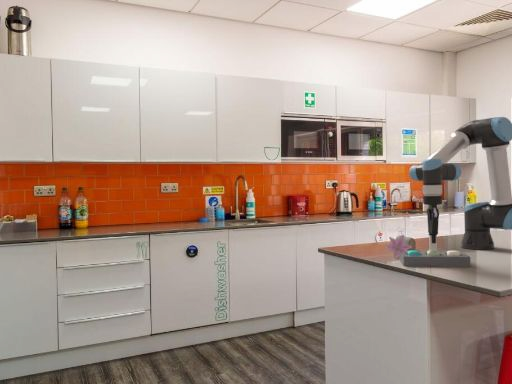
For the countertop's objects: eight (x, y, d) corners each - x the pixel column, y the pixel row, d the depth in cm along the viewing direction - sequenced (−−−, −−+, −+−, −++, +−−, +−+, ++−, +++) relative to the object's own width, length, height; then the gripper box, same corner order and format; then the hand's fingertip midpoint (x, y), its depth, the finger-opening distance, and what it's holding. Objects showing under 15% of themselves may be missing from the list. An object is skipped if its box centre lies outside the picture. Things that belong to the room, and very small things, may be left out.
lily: (380, 259, 204) (385, 243, 199) (385, 246, 213) (390, 230, 208) (406, 268, 200) (411, 252, 195) (410, 254, 209) (416, 238, 204)
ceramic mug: (409, 253, 213) (409, 237, 213) (394, 251, 219) (394, 236, 219) (419, 250, 220) (419, 235, 220) (404, 249, 226) (404, 234, 226)
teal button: (418, 259, 189) (418, 250, 189) (421, 261, 185) (420, 252, 184) (406, 259, 190) (406, 250, 190) (408, 261, 186) (408, 252, 185)
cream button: (458, 259, 186) (458, 250, 186) (461, 262, 182) (461, 252, 181) (445, 259, 187) (445, 250, 187) (448, 262, 182) (448, 252, 182)
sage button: (438, 259, 188) (438, 250, 188) (441, 261, 183) (440, 252, 183) (426, 259, 189) (426, 250, 189) (428, 261, 184) (428, 251, 184)
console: (462, 261, 189) (462, 252, 189) (470, 266, 178) (470, 256, 178) (399, 260, 194) (399, 251, 194) (403, 265, 183) (403, 256, 182)
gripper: (420, 194, 192) (421, 248, 193) (426, 195, 180) (426, 252, 180) (438, 194, 191) (439, 248, 191) (445, 195, 178) (446, 253, 179)
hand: (433, 250), depth 186 cm, fingers closed
